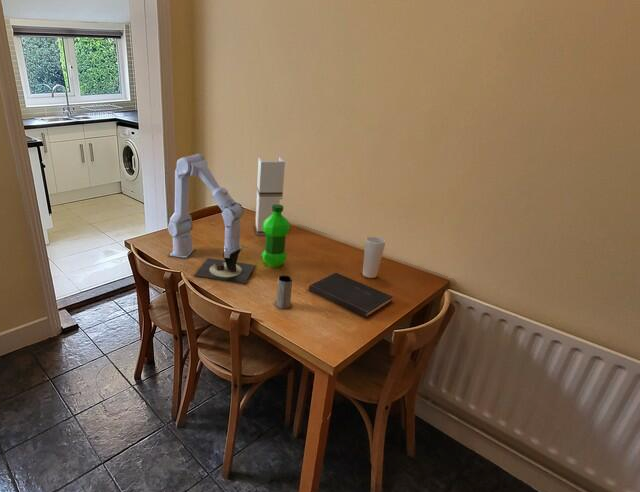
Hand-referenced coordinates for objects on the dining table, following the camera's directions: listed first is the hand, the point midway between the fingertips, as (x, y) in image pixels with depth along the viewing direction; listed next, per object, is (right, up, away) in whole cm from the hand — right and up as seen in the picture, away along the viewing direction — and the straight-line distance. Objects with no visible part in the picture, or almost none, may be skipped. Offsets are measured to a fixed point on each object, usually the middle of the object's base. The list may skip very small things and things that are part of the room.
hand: (231, 267), depth 161 cm
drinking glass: (+53, -3, -2) cm, 53 cm away
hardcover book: (+40, -10, -16) cm, 45 cm away
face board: (-2, -2, +2) cm, 3 cm away
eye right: (0, -1, +1) cm, 1 cm away
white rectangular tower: (+20, +17, +41) cm, 48 cm away
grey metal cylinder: (+16, -12, -21) cm, 30 cm away
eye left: (-5, -1, +2) cm, 5 cm away
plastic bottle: (+18, +1, +7) cm, 19 cm away
